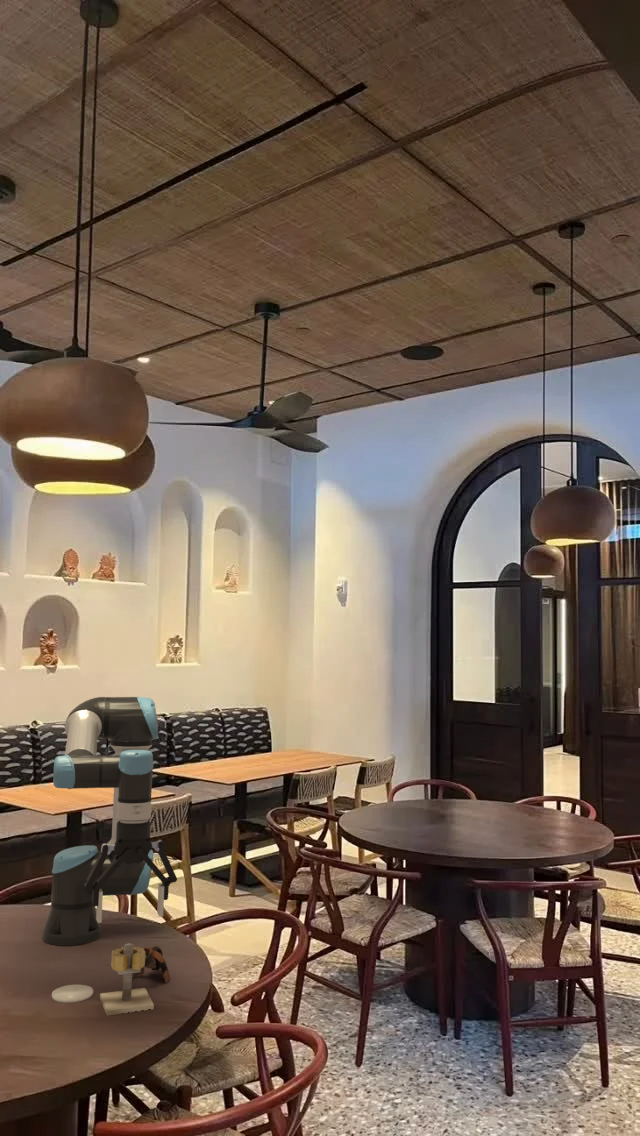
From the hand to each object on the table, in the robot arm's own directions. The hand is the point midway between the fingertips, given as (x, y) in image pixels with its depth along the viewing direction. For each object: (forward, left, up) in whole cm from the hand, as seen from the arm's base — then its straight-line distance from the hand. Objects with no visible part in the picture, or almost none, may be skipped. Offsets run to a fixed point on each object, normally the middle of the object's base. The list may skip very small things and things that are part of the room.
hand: (129, 918), depth 191 cm
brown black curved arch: (-13, +8, -19) cm, 24 cm away
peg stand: (0, 0, -18) cm, 18 cm away
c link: (0, 0, -10) cm, 10 cm away
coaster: (-9, -10, -18) cm, 23 cm away
